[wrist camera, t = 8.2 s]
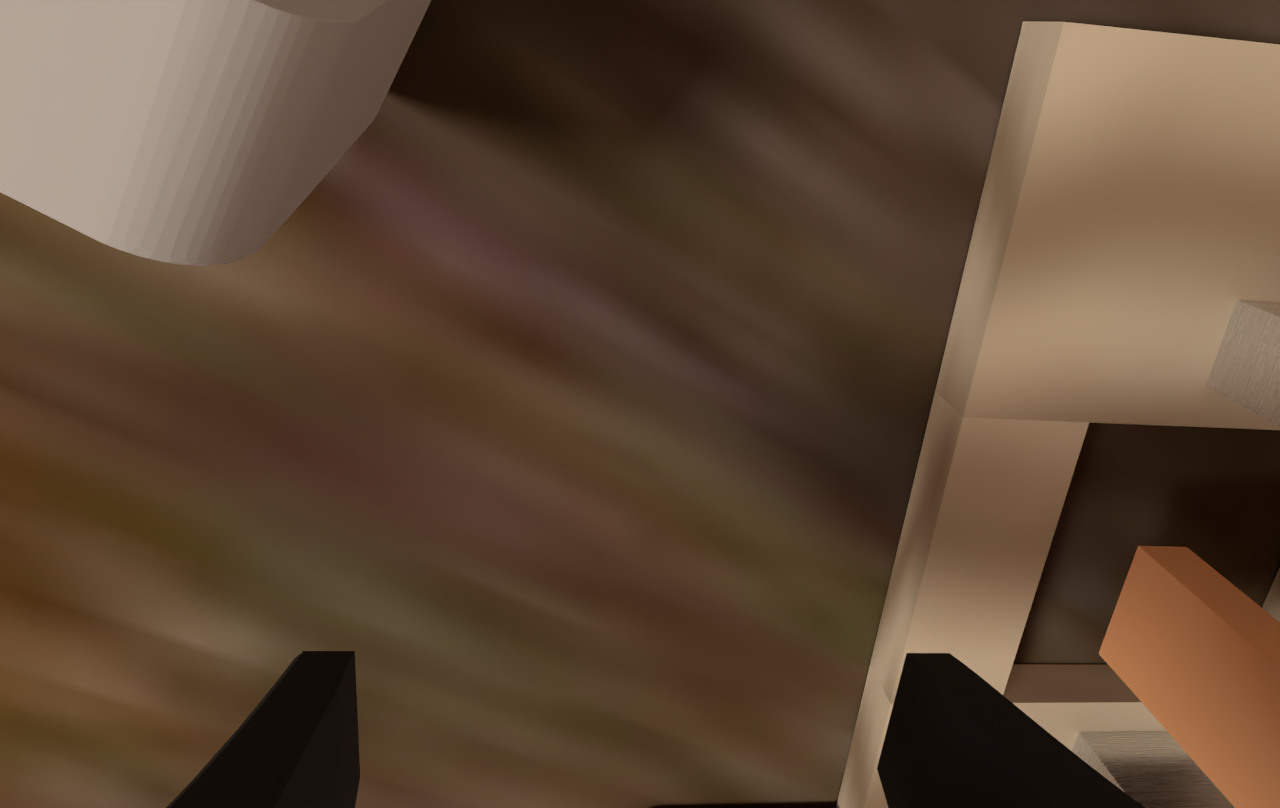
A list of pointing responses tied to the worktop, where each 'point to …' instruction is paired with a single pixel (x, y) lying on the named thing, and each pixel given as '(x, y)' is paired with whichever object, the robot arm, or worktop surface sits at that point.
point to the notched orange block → (1202, 668)
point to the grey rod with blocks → (1152, 760)
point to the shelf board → (1077, 341)
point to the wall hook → (188, 112)
